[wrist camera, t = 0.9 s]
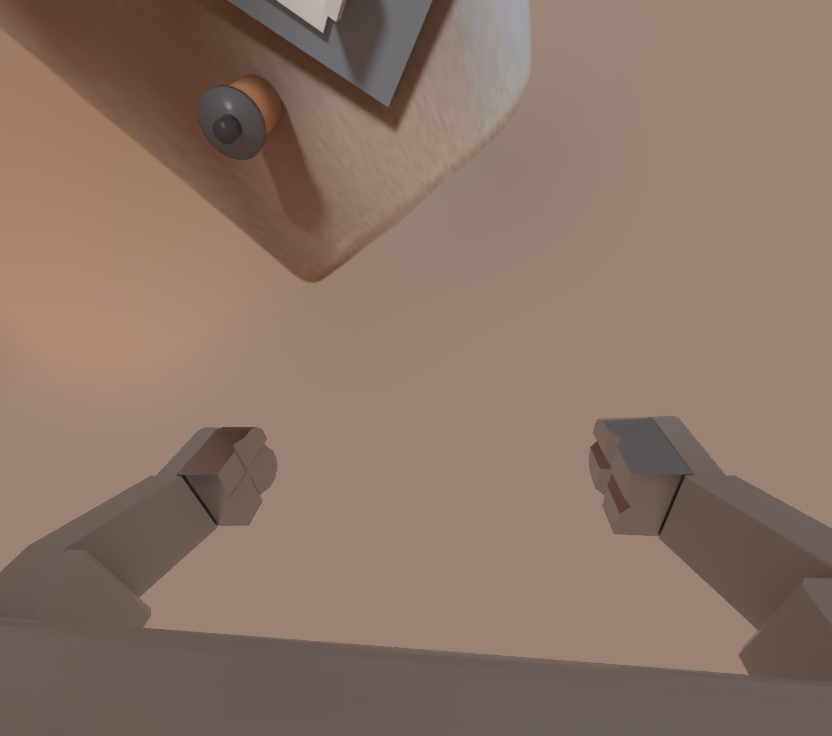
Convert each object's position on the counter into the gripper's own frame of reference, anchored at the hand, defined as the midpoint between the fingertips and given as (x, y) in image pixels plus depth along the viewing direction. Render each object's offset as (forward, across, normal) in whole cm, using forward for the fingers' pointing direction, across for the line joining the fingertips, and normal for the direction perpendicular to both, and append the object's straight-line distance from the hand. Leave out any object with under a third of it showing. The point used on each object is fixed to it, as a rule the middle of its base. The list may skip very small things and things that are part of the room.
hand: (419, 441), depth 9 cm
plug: (+35, +18, -12) cm, 41 cm away
